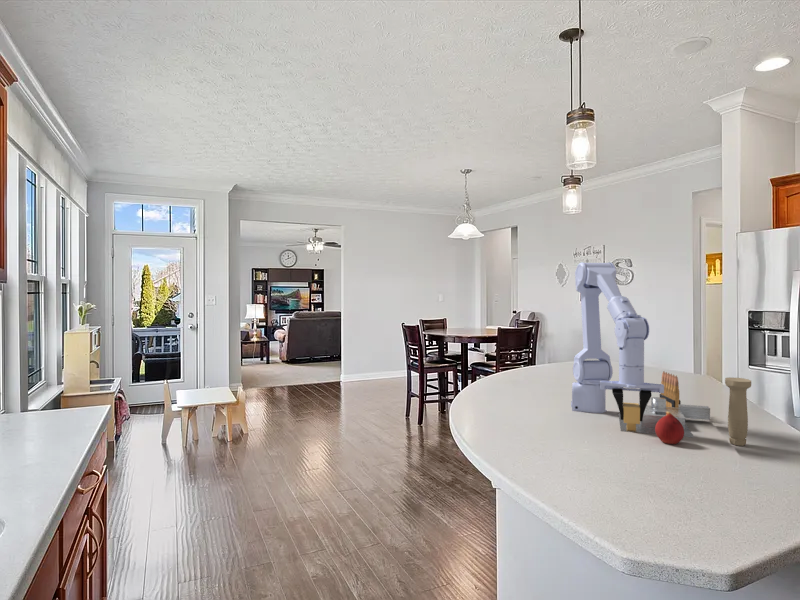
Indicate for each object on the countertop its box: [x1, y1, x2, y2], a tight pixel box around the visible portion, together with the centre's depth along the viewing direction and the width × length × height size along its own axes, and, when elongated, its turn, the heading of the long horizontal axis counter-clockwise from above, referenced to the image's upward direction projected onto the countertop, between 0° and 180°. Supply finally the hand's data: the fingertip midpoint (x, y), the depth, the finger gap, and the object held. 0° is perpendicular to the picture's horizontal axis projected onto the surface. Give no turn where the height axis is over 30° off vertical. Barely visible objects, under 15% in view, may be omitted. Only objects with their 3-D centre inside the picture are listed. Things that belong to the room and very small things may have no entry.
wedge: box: [623, 401, 640, 431], centre depth 131 cm, size 4×6×6 cm, turn 159°
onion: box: [655, 412, 685, 445], centre depth 119 cm, size 6×6×8 cm
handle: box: [724, 377, 752, 447], centre depth 121 cm, size 5×6×15 cm
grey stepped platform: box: [617, 396, 711, 438], centre depth 135 cm, size 22×21×6 cm
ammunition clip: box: [659, 370, 682, 408], centre depth 152 cm, size 11×2×12 cm, turn 174°
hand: (631, 419), depth 131 cm, fingers closed on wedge, 4 cm apart
